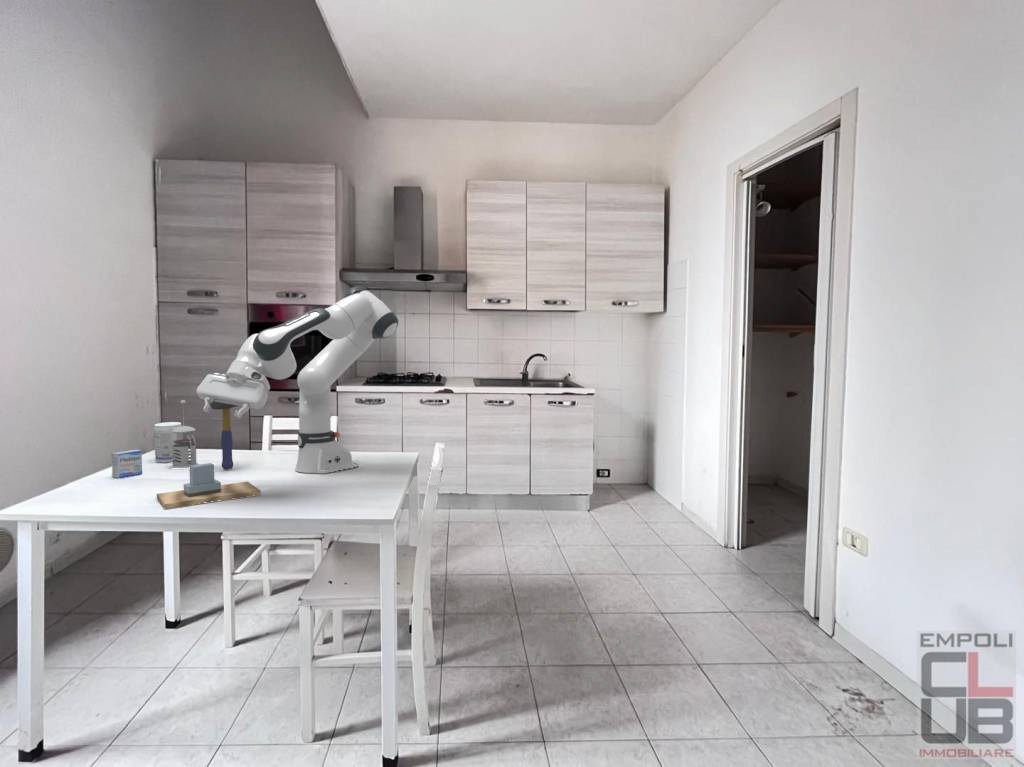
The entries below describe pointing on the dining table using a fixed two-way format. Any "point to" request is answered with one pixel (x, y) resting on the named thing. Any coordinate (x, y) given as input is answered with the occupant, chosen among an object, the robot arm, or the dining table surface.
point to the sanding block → (202, 481)
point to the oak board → (207, 495)
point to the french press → (184, 447)
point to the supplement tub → (165, 441)
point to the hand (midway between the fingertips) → (221, 414)
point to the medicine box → (126, 463)
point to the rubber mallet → (225, 434)
